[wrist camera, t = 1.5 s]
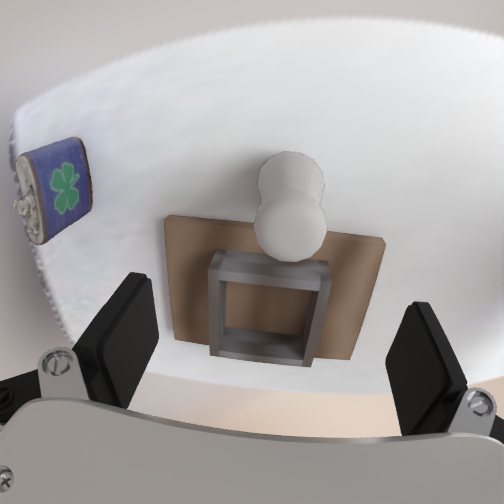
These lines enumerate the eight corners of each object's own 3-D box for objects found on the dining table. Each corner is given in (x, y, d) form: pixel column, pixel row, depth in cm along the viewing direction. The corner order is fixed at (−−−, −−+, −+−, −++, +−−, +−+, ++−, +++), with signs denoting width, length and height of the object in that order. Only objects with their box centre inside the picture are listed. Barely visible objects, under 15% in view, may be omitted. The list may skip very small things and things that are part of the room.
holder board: (382, 238, 31) (396, 264, 26) (348, 351, 38) (353, 384, 33) (169, 215, 33) (148, 237, 28) (178, 331, 40) (165, 361, 35)
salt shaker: (247, 170, 29) (217, 222, 18) (297, 134, 27) (301, 162, 16) (285, 217, 31) (279, 294, 20) (333, 185, 29) (359, 246, 18)
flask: (67, 137, 30) (-1, 161, 20) (86, 134, 29) (18, 157, 20) (77, 213, 34) (20, 255, 24) (96, 213, 34) (40, 258, 24)
